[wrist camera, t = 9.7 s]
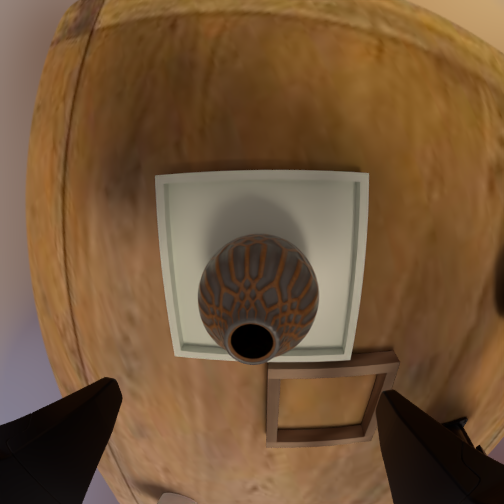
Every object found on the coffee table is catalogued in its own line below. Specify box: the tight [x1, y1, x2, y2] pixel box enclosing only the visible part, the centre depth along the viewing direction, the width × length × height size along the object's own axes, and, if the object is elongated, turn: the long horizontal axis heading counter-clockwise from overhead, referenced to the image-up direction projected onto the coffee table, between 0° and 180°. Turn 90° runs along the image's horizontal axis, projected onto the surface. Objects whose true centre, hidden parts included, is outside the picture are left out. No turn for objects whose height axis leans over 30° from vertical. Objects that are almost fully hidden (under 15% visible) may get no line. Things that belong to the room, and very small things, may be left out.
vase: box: [198, 234, 319, 365], centre depth 16 cm, size 7×7×9 cm
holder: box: [266, 351, 400, 448], centre depth 22 cm, size 11×11×2 cm
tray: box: [155, 170, 369, 362], centre depth 20 cm, size 14×14×2 cm
